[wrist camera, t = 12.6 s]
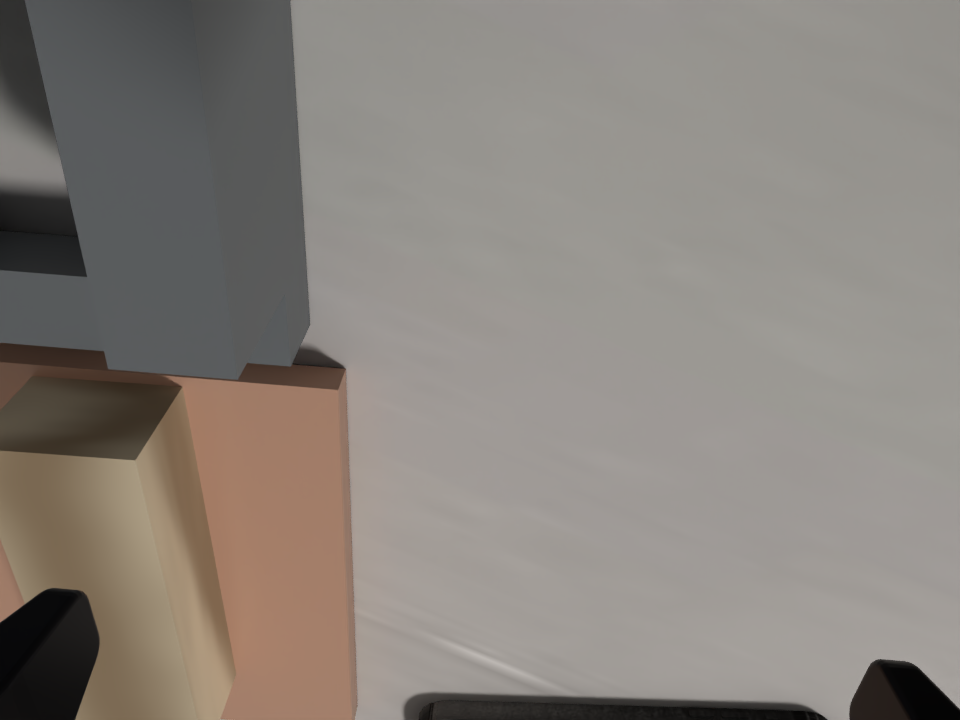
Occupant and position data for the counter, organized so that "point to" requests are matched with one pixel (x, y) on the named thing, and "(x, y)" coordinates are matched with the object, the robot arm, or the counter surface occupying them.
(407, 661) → the counter surface
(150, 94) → the grey hollow block
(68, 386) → the maple bar
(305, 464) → the terracotta tile
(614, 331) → the counter surface
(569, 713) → the phone
